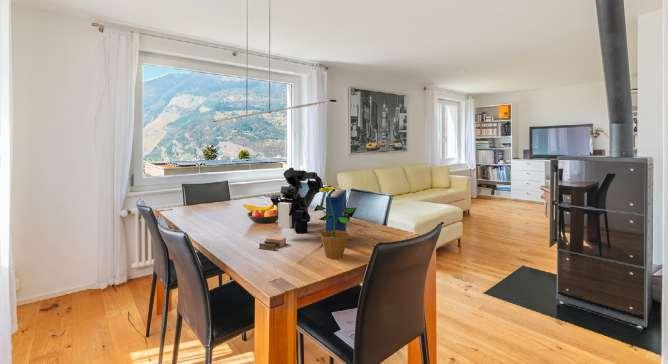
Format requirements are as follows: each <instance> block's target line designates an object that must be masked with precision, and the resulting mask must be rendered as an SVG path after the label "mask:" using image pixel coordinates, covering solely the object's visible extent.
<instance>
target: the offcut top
mask: <svg viewBox="0 0 668 364" xmlns="http://www.w3.org/2000/svg"><path fill="white" fill-rule="evenodd" d="M265 241H273V242H280V243H283V242H285V241H286V242H287V238H286V236H285V237H284V236H273V235H270V236H268V237H266V238H265Z"/></svg>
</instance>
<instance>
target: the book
mask: <svg viewBox="0 0 668 364" xmlns="http://www.w3.org/2000/svg"><path fill="white" fill-rule="evenodd" d="M328 195H329V199H328ZM329 200H330V202H329ZM330 203H331V206H332V209H333V213H334V219H335V221H336V220H337V219H338V217H339V216H340V217H342V216H346V215H347V214H346V213H345V212H343V211H342V210H344V209H346V208H347V189H340V188H339V189H335V190H333V191H329V192H328V194H327V195H326V196H325V208H326V209H325V212H326V213H327V214H330V215H333V213H332V209H331V206H330ZM341 212H342V213H341ZM340 214H341V215H340ZM331 230H334V220H333V216H332V217H330V218H329V219H327V220H325V231H331ZM335 230H338V231H345V232H347V223H346V224H342V225H338V220H337V221H336V223H335Z"/></svg>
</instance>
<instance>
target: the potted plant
mask: <svg viewBox="0 0 668 364" xmlns="http://www.w3.org/2000/svg"><path fill="white" fill-rule="evenodd" d="M337 188H338V187H337V186H335V185H327V186H323V187H321V188H320V189H318V190H317V191H320V192H321V193H326V194H327V196H328V199H329V195H328V194H329V193H330V192H331V191H333V190H337ZM320 192H319V193H320ZM329 202H330V200H329ZM330 206H331V203H330ZM357 208H358V207H346V209H344V210H342V211H343V212H345V213H346V216H342V217H340V216H339V217H338V219H337V220H338V225H342V224H346V225H347V224H349V223H350V220H351V218H352V217H353V215H354V214H355V212H356V210H357ZM331 209H332V206H331ZM317 211H318V212H319V211H323V212H324V214H325V215H324V216H322V217H320V218H318V220H319V221H324V222H326V220H327V219H329V218H330V217H332V216H333V220H334V230H331V231H326V230H324V231H323V232H320V233H319V235H320V238H321V242H322V246H323V249H324V254H325V257H326V258H327V259H330V260H339V259H343V255H344V253H345V249H346V245H347V242H348V238H349V234H350V233H349V232H347V231H346V232H345V231H338V230H335V223H336V221H337V220H336V221H335V219H334V213H333V209H332V213H333V215H330V214H327V213H326V207H323V206H321V205H320V204H316V206H315V208H314V210H313V212H317ZM341 213H342V212H341ZM340 215H341V214H340Z"/></svg>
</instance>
